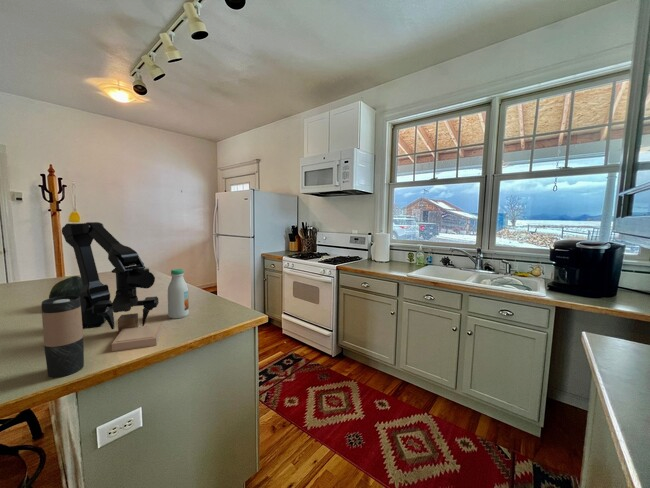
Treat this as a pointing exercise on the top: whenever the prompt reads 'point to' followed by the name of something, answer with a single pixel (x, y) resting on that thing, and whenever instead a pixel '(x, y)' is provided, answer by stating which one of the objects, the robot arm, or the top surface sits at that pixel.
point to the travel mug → (63, 335)
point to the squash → (67, 287)
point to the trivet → (137, 337)
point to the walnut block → (127, 321)
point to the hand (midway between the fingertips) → (128, 327)
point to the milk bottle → (177, 295)
